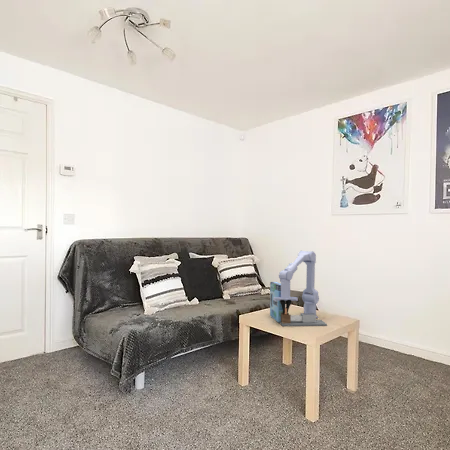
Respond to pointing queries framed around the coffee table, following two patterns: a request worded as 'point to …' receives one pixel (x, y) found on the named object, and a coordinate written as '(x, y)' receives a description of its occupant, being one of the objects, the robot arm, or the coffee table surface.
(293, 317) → the blocks
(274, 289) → the gum box
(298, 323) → the base board
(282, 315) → the socket
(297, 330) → the coffee table surface
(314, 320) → the sleeve
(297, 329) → the coffee table surface
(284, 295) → the robot arm
